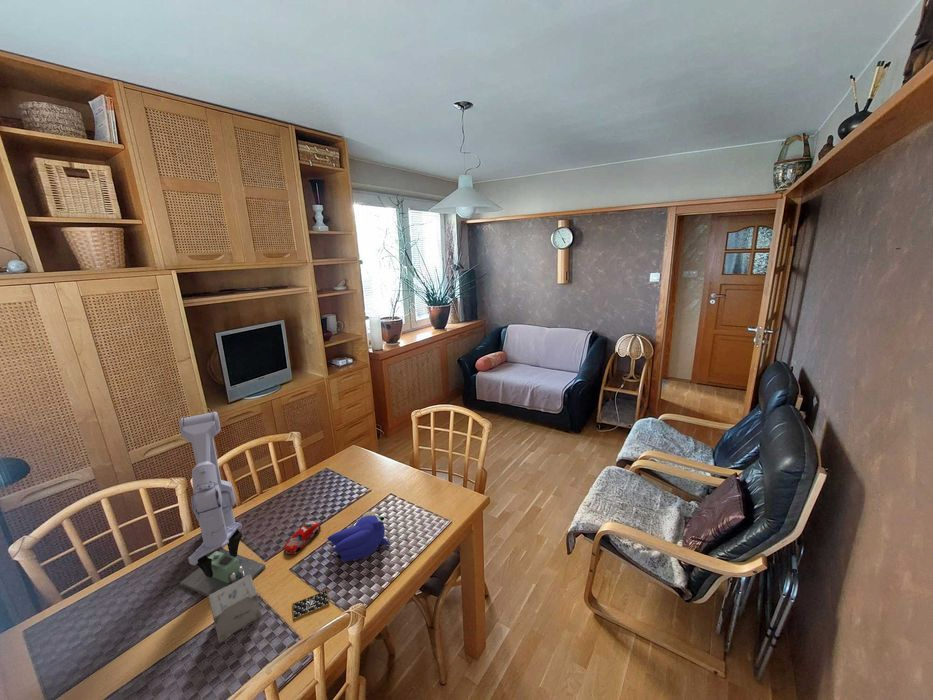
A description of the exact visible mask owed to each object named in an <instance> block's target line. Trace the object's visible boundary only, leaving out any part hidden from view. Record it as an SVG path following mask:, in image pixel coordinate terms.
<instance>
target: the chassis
mask: <svg viewBox="0 0 933 700" xmlns="http://www.w3.org/2000/svg"><path fill="white" fill-rule="evenodd" d="M219 552H221V553H224V554H227V555H230V553H229V550H226V549H221V550H220V551H219ZM230 556H231V555H230ZM232 557H233V556H232ZM235 558H238V560H239V565H240V566H239V567H238V572H239V575H238V576H236V575H235V572H233V573H231V574H230V577H231V582H230V583H227V582H224V581H222V580H219V579H217V578H214V577H211V578H210V577H207V576H206V575H205V573H204V572H203V571H202V569H201V568H200V567H199V566H198V568H197V569H195V570H194V571H192V573H190V574H189V575H188V576H187V577H185V578H184V579H183V580H181V581H180V585H181V586H182V587H184V588H186V589H188V590H192V591H194V592H196V593H199V594H200V595H202V596H205V597H208V598H209V595H210V594H212V593H214V592H216V591H218V590H220V589H222V588H224V587H226V586H228V585H230V584H232V583H234V582H236V581H238V580H240V579H242V578H244V577H246V576H248V575H251V577H252V580H253V579H255V578H256V577H257V576H258V575H259V574H260V573H261V572H262V571H263V570H265V568H266V564H265V563H263V562H259V561H257V560H254V559H251V558H248V557H246V556H242V555H241V554H237V556H236V557H235Z"/></svg>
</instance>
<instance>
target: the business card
mask: <svg viewBox="0 0 933 700" xmlns="http://www.w3.org/2000/svg"><path fill="white" fill-rule="evenodd" d="M291 605H292V606H291V607H292V617H293V618H292V620H293V621H296V620H298V619H301V618H303V617H305V616H308V615H310V614H313V613H315V612H317V611H320V610H322V609H324V608H327V607H329V606H330V605H331V604H330V600H329V594H328V590H327V589H325V590H322V591H320V592H318V593H316V594H314V595H311V596H309V597H306V598H303V599H301V600H299V601H296V602H293V603H292V604H291Z"/></svg>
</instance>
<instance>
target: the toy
mask: <svg viewBox="0 0 933 700" xmlns="http://www.w3.org/2000/svg"><path fill="white" fill-rule="evenodd" d="M384 520H385V517H384V516H377V515H376V513H374V512H372V511H366V512H364V513H363V515H361V518H360V519H358V520H357V522H356V523H355V525H354V526H353V527H349V528H346V529H343V530H340V531H336V532H335V533H333V534H331V535H329V536H328V537H327V538H326V539H327V541H329V542H331V544H332V545H334V546H335V547H333V549H332V551H333V552H335V553H337V554H338V555H339V556H340V557H341V558H340V561H341V562H352V561H357V560H361V559H365V558H367V557H369V556H371V555H372V554H373V553H374V552H376V551H377V549H378V547H379V545H381V546H391V544H390V542H389V541H388V540H387V539H386V538H385V533H386V530H385V529H386V528H385V524H384Z"/></svg>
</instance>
